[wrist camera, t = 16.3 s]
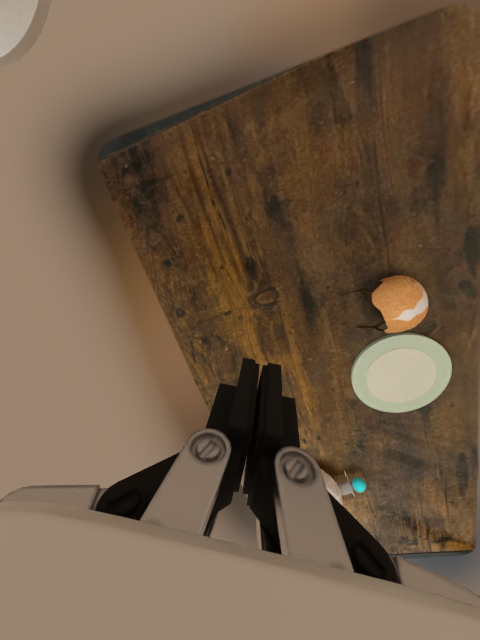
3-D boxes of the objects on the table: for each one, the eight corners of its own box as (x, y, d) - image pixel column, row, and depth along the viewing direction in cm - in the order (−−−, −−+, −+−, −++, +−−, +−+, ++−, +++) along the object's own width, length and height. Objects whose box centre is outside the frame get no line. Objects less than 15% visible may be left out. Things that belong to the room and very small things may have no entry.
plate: (341, 346, 34) (342, 349, 33) (443, 320, 31) (447, 323, 30) (360, 416, 38) (361, 420, 37) (453, 399, 35) (456, 403, 34)
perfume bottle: (276, 473, 39) (354, 451, 38) (285, 475, 46) (352, 456, 44) (293, 539, 35) (383, 518, 33) (300, 531, 41) (375, 512, 40)
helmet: (368, 314, 35) (441, 305, 29) (349, 345, 31) (429, 341, 25) (352, 277, 33) (425, 258, 27) (330, 304, 30) (409, 289, 23)
